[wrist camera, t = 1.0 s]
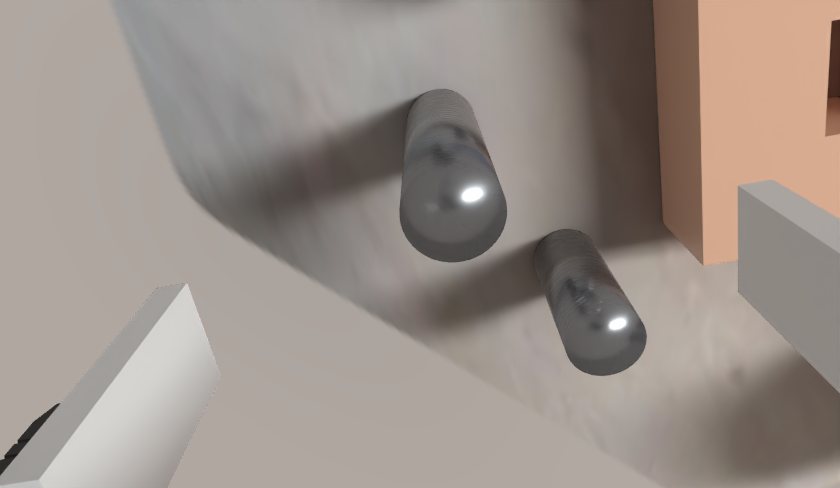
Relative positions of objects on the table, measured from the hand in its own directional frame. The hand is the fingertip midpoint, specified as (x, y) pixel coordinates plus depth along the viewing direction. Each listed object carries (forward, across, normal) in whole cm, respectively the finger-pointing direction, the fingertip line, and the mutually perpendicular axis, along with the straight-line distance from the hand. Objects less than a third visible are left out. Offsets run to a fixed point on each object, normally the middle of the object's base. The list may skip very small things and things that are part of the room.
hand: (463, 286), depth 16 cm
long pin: (+16, 0, 0) cm, 16 cm away
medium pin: (+16, +5, -8) cm, 19 cm away
